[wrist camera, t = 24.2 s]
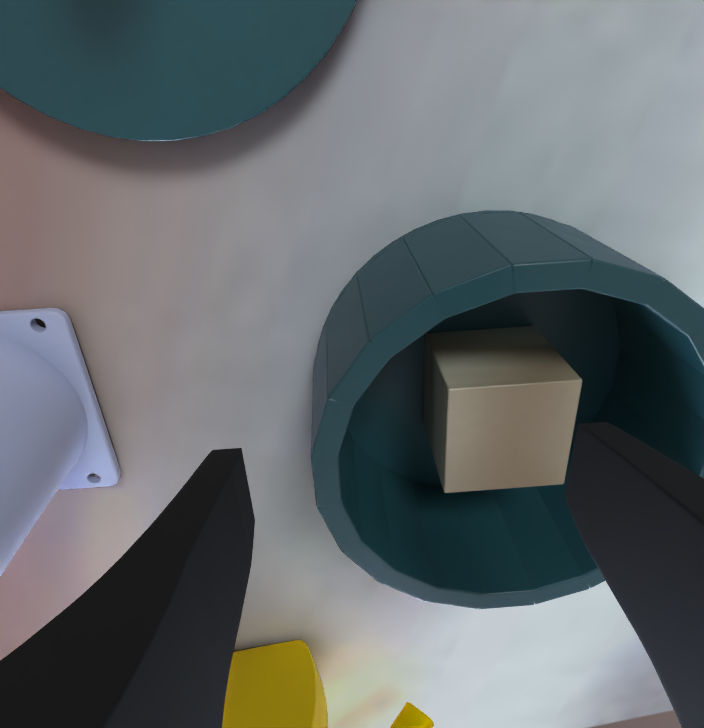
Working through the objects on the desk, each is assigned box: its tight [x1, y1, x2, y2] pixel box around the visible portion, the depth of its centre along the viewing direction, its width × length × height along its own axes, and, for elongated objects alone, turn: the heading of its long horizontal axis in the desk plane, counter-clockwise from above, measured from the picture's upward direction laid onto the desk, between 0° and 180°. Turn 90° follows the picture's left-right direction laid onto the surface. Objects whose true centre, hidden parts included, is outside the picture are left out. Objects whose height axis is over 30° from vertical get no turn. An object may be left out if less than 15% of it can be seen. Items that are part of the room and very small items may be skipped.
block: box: [424, 326, 582, 493], centre depth 19 cm, size 4×4×4 cm
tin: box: [311, 211, 704, 609], centre depth 18 cm, size 13×13×6 cm
